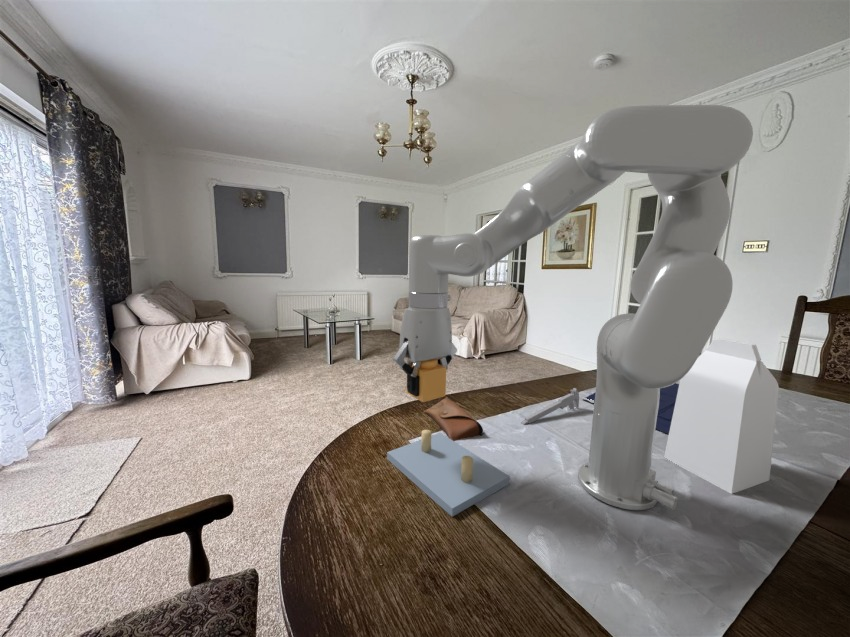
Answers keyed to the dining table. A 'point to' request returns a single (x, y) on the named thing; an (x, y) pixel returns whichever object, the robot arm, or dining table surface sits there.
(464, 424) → the sunglasses case
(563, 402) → the caliper
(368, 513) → the dining table surface
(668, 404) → the folded navy cloth
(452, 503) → the board
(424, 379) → the cube with ball knob
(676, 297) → the robot arm
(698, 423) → the milk
